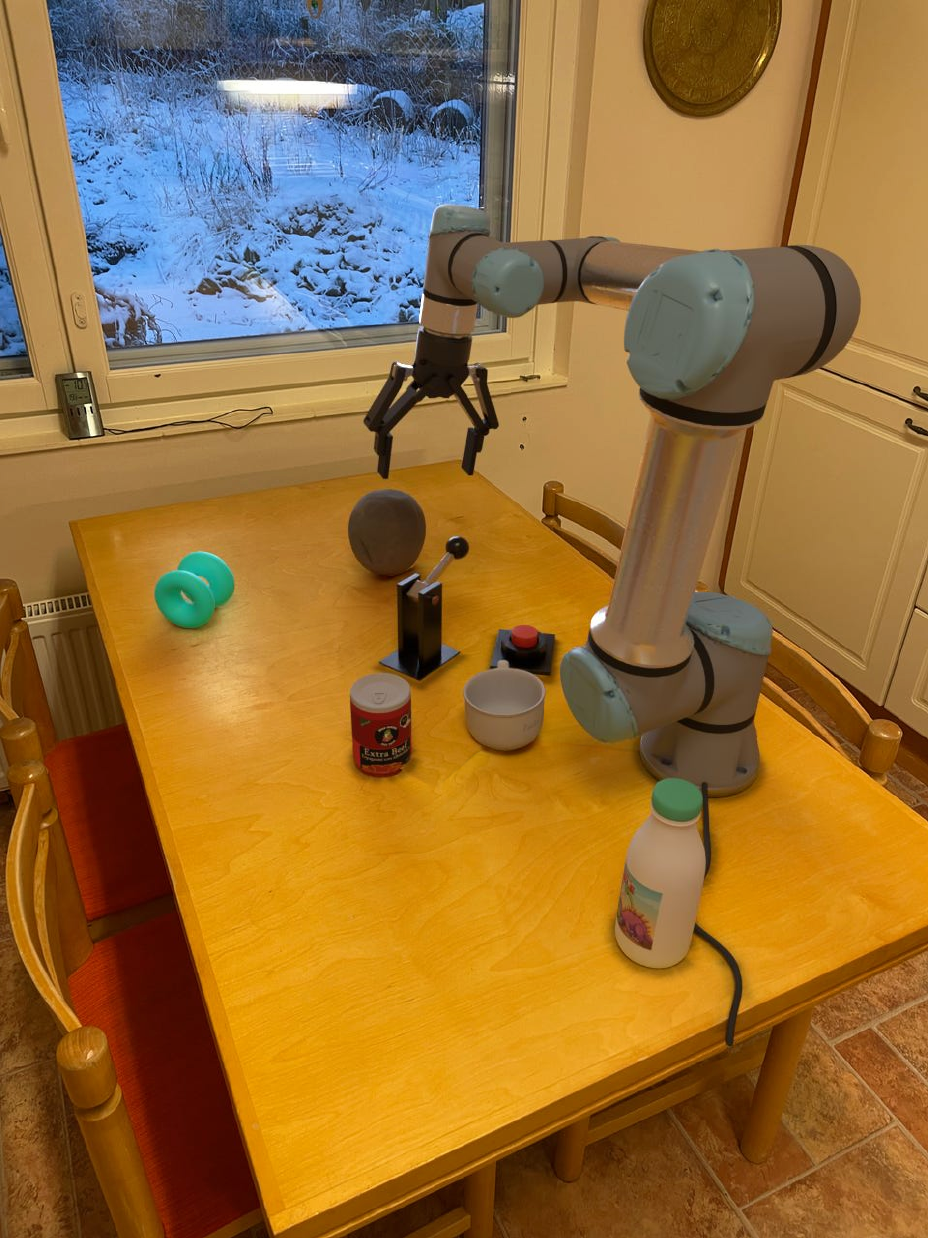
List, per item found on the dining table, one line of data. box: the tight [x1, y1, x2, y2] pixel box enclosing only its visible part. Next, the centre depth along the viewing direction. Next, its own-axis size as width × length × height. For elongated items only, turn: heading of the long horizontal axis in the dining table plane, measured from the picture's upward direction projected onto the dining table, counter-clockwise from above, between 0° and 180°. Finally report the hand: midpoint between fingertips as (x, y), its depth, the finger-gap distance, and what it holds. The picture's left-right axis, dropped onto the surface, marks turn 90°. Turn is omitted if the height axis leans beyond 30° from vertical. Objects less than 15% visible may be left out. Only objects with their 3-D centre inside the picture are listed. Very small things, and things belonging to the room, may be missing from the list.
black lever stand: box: [378, 573, 461, 682], centre depth 135 cm, size 10×8×14 cm
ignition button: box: [511, 624, 539, 648], centre depth 138 cm, size 4×4×2 cm
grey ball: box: [347, 488, 427, 577], centre depth 161 cm, size 14×14×15 cm
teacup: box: [462, 660, 547, 752], centre depth 122 cm, size 14×11×8 cm
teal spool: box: [153, 551, 236, 629], centre depth 147 cm, size 10×10×10 cm
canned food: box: [349, 672, 412, 778], centre depth 115 cm, size 8×8×11 cm
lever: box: [406, 535, 470, 606], centre depth 135 cm, size 13×4×4 cm, turn 144°
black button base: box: [489, 628, 556, 677], centre depth 139 cm, size 11×9×4 cm
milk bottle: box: [614, 778, 706, 969], centre depth 89 cm, size 8×8×20 cm
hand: (425, 473), depth 134 cm, fingers open, 13 cm apart
